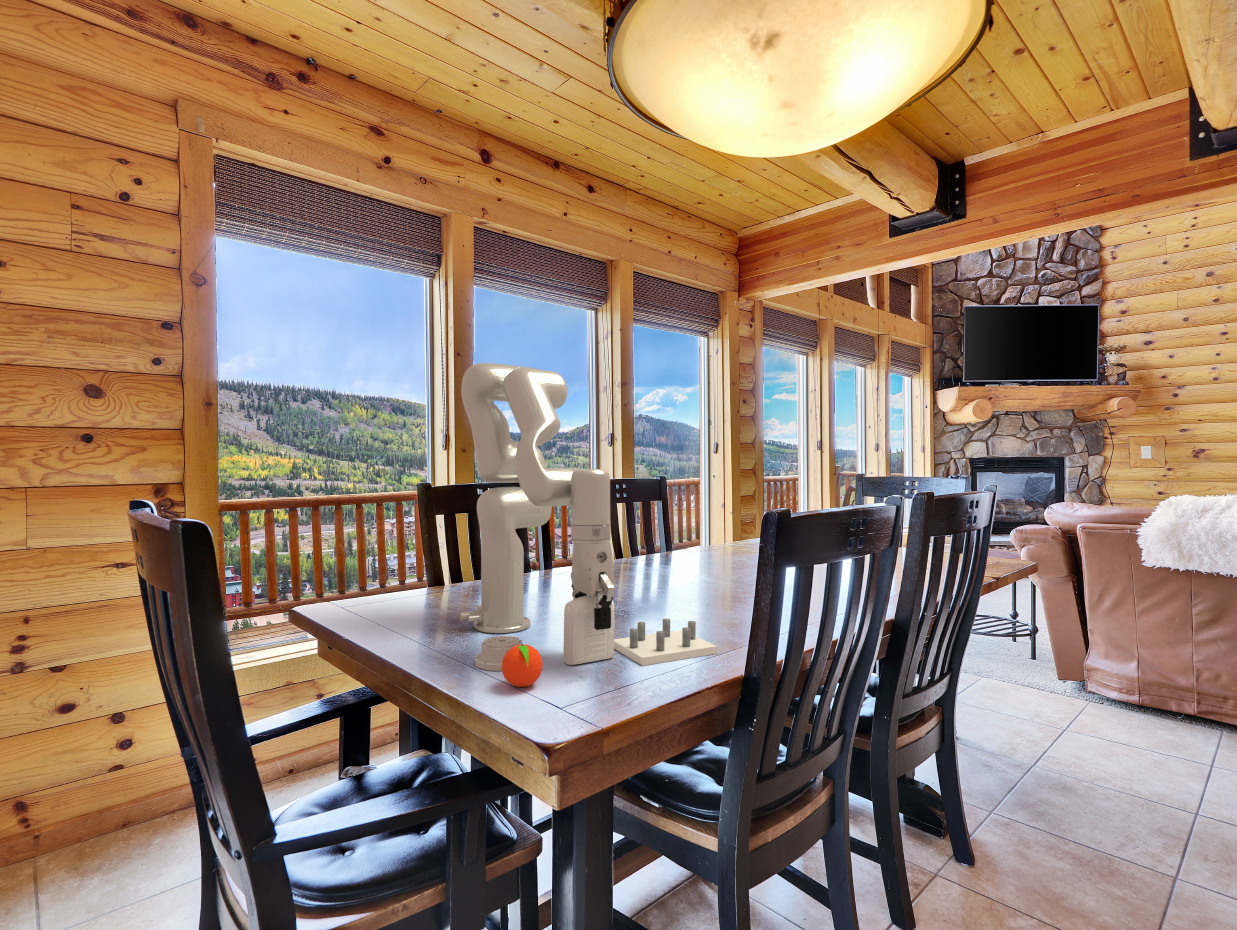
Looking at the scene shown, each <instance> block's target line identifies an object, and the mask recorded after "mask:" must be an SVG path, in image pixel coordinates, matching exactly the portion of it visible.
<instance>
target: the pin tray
mask: <svg viewBox="0 0 1237 930" xmlns="http://www.w3.org/2000/svg"><path fill="white" fill-rule="evenodd" d="M696 623H697V622H696V621H694V620H688V621H687V627H682V629H678V630H672V631H671V619H670V618H662V630H657V631H656V632H655V633H651V634H646V622H645V621H637V628H634V627H633V628H630V629H629V636H627V637H622V638H614V651H617V652H618V653H621V654H623V655H624V656H625V657H627V658H629V659H630V660H632V661H634V662H635V663H637V664H639V665H640V666H642V667H643V666H649V665H650V666H651V665H655V664H663V663H669V662H672V661H681V660H686V659H693V658H699V657H705V656H711V655H716V654H718V646H717V645H715V644H714V643H712V642H708V641H707V640H704V639H702V638H700V637H698V636H696V632H697V631H696V629H697V628H696V627H697V625H696Z"/></svg>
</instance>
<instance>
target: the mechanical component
mask: <svg viewBox="0 0 1237 930" xmlns="http://www.w3.org/2000/svg"><path fill="white" fill-rule="evenodd" d="M522 644H523V640H522V639H520V638H519V637H516V636H512V635H508V636H507V635H505V636H504V635H500V636H491V637H486V639H484V640H483V641H482V642H481V652H479V653H477V655H475V656H474V665H475V666H476V667H477V668H479V669H481V670H486V671H493V672H502V661H503V658H504V656H505V654H506V653H507V652H508V650H510V649H511V648H513V647H514V646H516V645H522Z"/></svg>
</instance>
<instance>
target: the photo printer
mask: <svg viewBox="0 0 1237 930" xmlns="http://www.w3.org/2000/svg"><path fill="white" fill-rule="evenodd" d="M601 598H602V596H601V597H599V599H600V600H601ZM594 608H597V607H596V604H595V601H594V598H593V596H590V595H587V596H583V597H579V598H576V599H574V600H573V599H571V600H570V601H568V602H567V603H566V604H565V606H564V611H563V612H564V614H563V617H564V618H563V621H564V622H563V661H564V663H565V664H566V665H568V666H574V665H580V664H586V663H592V662H596V661H601V660H602V661H603V660H607V659H611V658H614V656H615V649H614V639H615V616H616V615H615V611H616V610H615V609H616V608H615V603H614V600H613V601H612V607H611V628H609V629H602V630H596V629H595V628H594Z"/></svg>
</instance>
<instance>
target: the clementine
mask: <svg viewBox="0 0 1237 930" xmlns="http://www.w3.org/2000/svg"><path fill="white" fill-rule="evenodd" d="M543 664H544V662H543V659H542V656H541V654H540V652H539V651H538V650H537V649H536V648H535V647H533V646H532V645H530V644H523V643H522V645H516V646H514V647H513V648H511V649H510V650H508V652H507V653H506V654H505V656H504V658H503V661H502V671H501V672H502V674H503V677H504V679H505V680H506V681H507V682H508V683H509V684H510V685H512V686H514V687H518V688H524V687H529V686H531V685H532V684H534V683H535V682H536V681H537V680H538V679H539V678H540V676H541V674H542V672H543V667H544V665H543Z"/></svg>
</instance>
